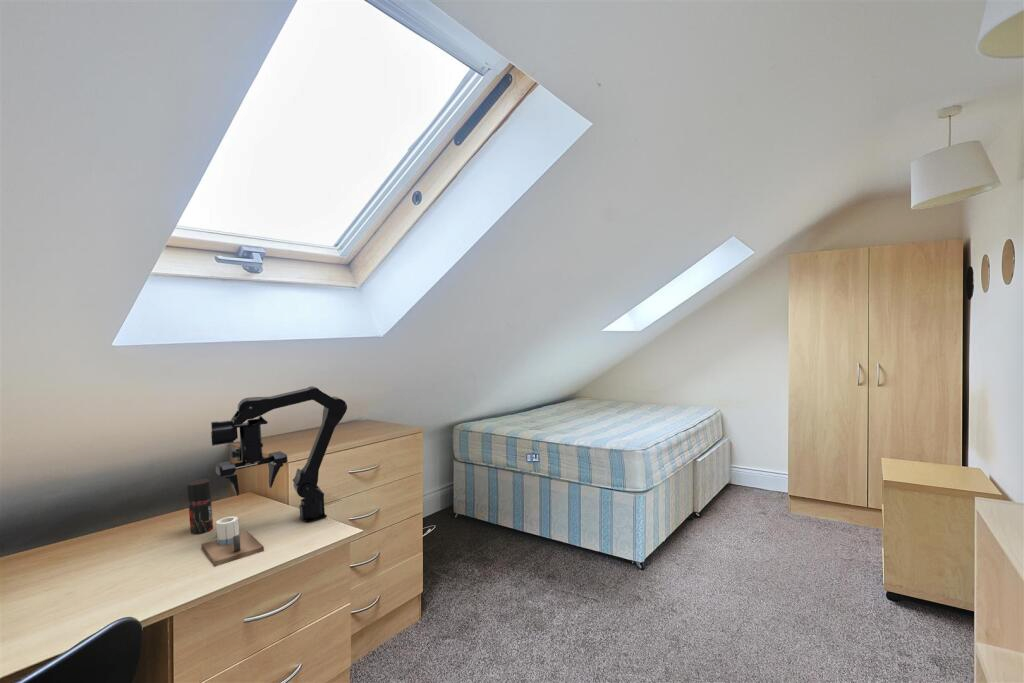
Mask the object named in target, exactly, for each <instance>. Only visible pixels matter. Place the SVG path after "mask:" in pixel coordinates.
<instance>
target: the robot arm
mask: <svg viewBox="0 0 1024 683" xmlns="http://www.w3.org/2000/svg"><path fill="white" fill-rule="evenodd" d="M309 401H314V402H316V403H318V404H319V405H321V406H323V410H322V418H321V419H322V420H321V425H320V427H319V430H318V433H317V435H316V437H315V439H314V442H313V445H312V448H311V450H310V452H309V456H308V458H307V461H306V463H305V465H303V467H302V468H301V469H300V468H296V472H295V476H294V478H293V479H292V483H293V484H292V485H293V488H294V491H295V492H296V493H297V495H298V496H299V497H300V498H301V499H300V504H299V507H298V508H299V518H300V519H301V520H302V521H304V522H305V523H310V522H311V523H312V522H315V521H318V520H321V519H324V518H327V517H328V514H326V513H325V497H324V496H325V493H324V492H323V491H322V490H321V487H319V485H318V482H319V472H320V467H321V465H322V462H323V460H324V457H325V455H326V452H327V449H328V446H329V445H330V442H331V439H332V437H333V433H334V431H335V428H336V427H337V425H338V424H339V423H340V422H341V421H342V420H343V418H344V416H345V414H346V412H347V411H348V405H347V403H346V402H347V401H345V400H343V399H342V398H339V397H338V396H330V395H328V394H327V393H325V392H323V391H322V390H320V389H319V388H318V387H316V386H313V385H311V386H308V387H306V388H302V389H301V388H300V389H297V390H292V391H288V392H285V393H278V394H276V395H271V396H252V397H251V396H250V397H245V398H243V399H241V400H240V401H239V402H238V404H237V411H236V412H235V414H234V415H233V416H232V418H231V420H223V421H211V422H210V423H211V424H210V425H211V426H210V427H211V431H210V440H211V446H212V447H213V446H220V445H229V444H234V443H235V442H234V441H236V440H237V439H238V436H239V440H240V442H239V448H238V447H237V446H234V447H230V448H229V457H230V459H231V460H229V461H225V462H219V463H217V464H216V465H215V474H217V475H218V476H219V477H223V478H224V479H228V481H229V482H230V484H231V486H232V489H233V491H234V492H235V495H236V496H237V497H238V496H240V488H239V481H238V480H239V479H238V475H237V474H236V470H241V469H245V468H251V467H256V466H261V465H265V464H267V467H268V487H269V488H270V489H271V488H272V487H273V486H274V483H275V479H276V477H277V475H278V472H279V471H280V469H281V468H282V467H284V464H287V463H288V461H289V460H288V455H287V454H286V453H284V451H283V452H282V451H281V450H280V451H274V452H269V453H268V455H267V456H265V457H264V455H263V454H264V453H263V448H264V447H263V446H264V443H263V440H262V426H261V425H267V424H268V422H269V421H267V420H266V419H265V418H263V415H265V414H267V413H269V412H270V411H273V410H276V409H280V408H284V407H288V406H293V405H297V404H300V403H301V404H302V403H304V402H305V403H306V402H309ZM238 428H239V434H238ZM233 459H237V462H235V463H234V462H233V461H232V460H233Z"/></svg>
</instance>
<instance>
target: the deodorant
mask: <svg viewBox="0 0 1024 683" xmlns="http://www.w3.org/2000/svg"><path fill="white" fill-rule="evenodd" d="M210 481H211V480H210V478H209V479H208V478H200V479H195V480H191V481H189V482H187V484H186V486H187V488H186V489H187V501H188V514H189V515H188V516H189V528H190V534H191V535H202V534H206V533H208V532H210V531H212V530H214V520H213V508H212V493H211V482H210Z"/></svg>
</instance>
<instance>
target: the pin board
mask: <svg viewBox="0 0 1024 683" xmlns="http://www.w3.org/2000/svg"><path fill="white" fill-rule="evenodd" d="M201 549H202V551H203V552H204V553H205V555H206V556H207V558H208V559H209V560H210V561H211V562H212V564H213V566H214V567H217V566H220V565H223V564H226V563H229V562H232V561H236V560H238V559H242V558H245V557H247V556H248V557H249V556H252V555H254V554H258V553H261V552H264V551H265V548H264V545H263V544H262V543H261V542H260V541H259V540H258V539H257V538H256V537H255V536H253V534H252V533H250V532H249V531H248V530H246V531H241V532H239V535H236V536H233V543H232V544H228V545H219V544H218V543H217V539H215V540H211V541H208V542H203V543H201Z"/></svg>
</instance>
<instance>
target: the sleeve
mask: <svg viewBox="0 0 1024 683" xmlns="http://www.w3.org/2000/svg"><path fill="white" fill-rule="evenodd" d="M215 523H216V524H215V526H216V540H217V543H218V544H219V545H228V544H232V543H233V536H236V535H239V533H240V528H239V527H240V526H239V518H238V517H237V516H226V517H223V518H222V517H221V518H220V519H218V520H217V521H215Z"/></svg>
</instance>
